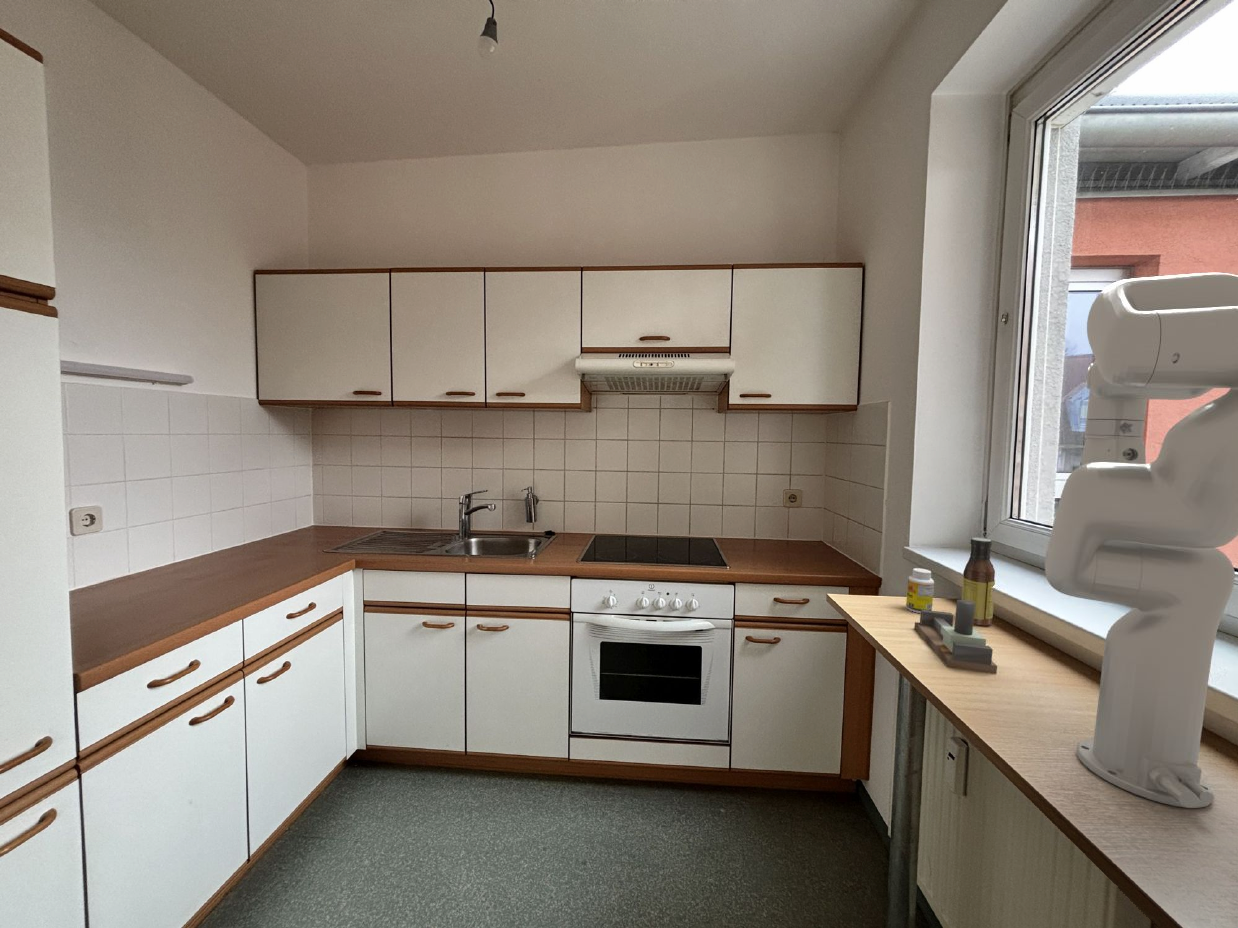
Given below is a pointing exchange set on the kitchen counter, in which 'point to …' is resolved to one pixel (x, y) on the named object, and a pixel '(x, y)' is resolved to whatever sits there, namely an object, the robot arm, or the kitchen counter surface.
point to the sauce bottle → (979, 581)
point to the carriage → (962, 627)
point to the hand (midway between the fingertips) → (1102, 527)
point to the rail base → (962, 653)
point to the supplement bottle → (920, 591)
